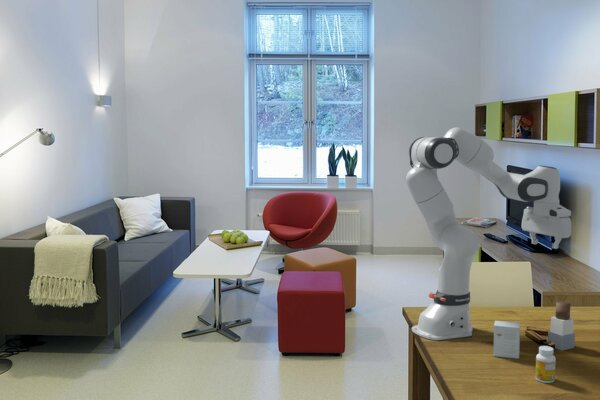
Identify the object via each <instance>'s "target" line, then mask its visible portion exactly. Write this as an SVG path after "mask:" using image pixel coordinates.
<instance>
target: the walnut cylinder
mask: <svg viewBox="0 0 600 400" xmlns="http://www.w3.org/2000/svg"><path fill="white" fill-rule="evenodd" d="M571 306H572V305H571V303H570V302H567V301H555V315H554V316H555V317H556V318H557V319H562V320H568V319H570V318H571Z"/></svg>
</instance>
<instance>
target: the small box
mask: <svg viewBox="0 0 600 400" xmlns="http://www.w3.org/2000/svg"><path fill="white" fill-rule="evenodd" d="M520 326H521V324H520V322H519V321H518V322H517V321H505V320H504V321H503V320H494V324H493V357H498V358H506V359H507V358H508V359H518V360H519V359H520V345H521V344H520V342H521V341H520V340H521V339H520V336H521V333H520V332H521V330H520V329H521V327H520Z"/></svg>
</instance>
